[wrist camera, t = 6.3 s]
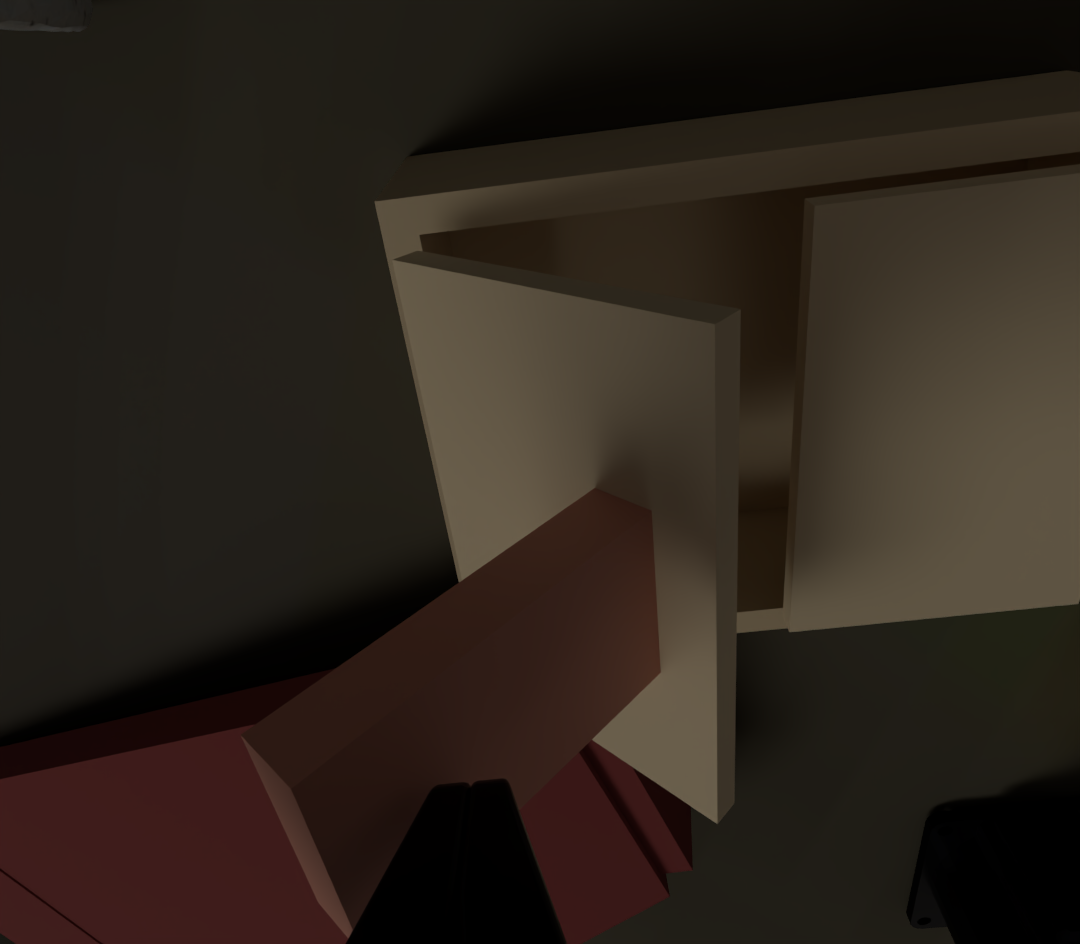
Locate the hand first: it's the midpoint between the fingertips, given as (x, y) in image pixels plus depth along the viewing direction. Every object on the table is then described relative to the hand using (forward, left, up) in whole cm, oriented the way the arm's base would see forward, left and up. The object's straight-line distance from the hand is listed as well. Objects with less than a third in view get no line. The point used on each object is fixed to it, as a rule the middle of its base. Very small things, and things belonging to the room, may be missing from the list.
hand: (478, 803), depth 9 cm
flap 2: (0, -8, -7) cm, 11 cm away
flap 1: (0, -1, -5) cm, 5 cm away
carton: (-14, +9, -12) cm, 21 cm away
